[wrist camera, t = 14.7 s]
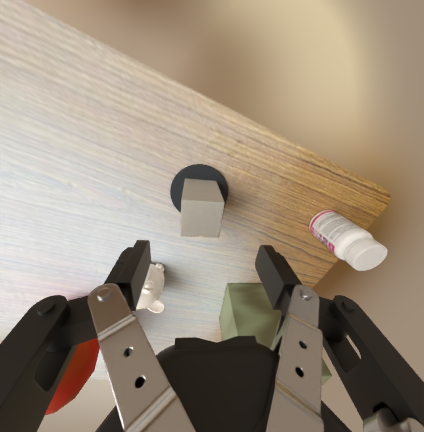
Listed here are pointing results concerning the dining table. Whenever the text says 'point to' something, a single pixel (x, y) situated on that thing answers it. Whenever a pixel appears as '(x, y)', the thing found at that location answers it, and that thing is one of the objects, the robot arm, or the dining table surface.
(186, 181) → the block
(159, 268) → the figurine
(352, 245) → the pill bottle
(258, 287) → the stand
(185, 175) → the coaster
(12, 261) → the dining table surface
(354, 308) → the robot arm
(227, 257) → the dining table surface
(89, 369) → the apple
